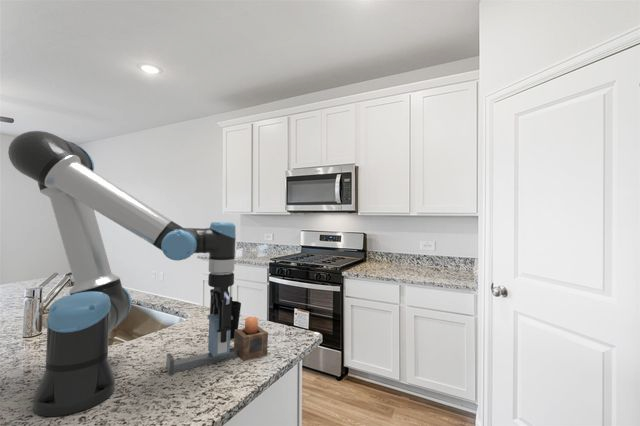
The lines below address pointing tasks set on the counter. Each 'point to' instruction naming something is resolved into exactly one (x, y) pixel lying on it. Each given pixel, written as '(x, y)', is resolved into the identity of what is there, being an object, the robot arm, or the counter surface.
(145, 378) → the counter surface
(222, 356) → the rail
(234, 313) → the cup
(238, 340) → the brown wooden box
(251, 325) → the button
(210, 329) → the carriage
